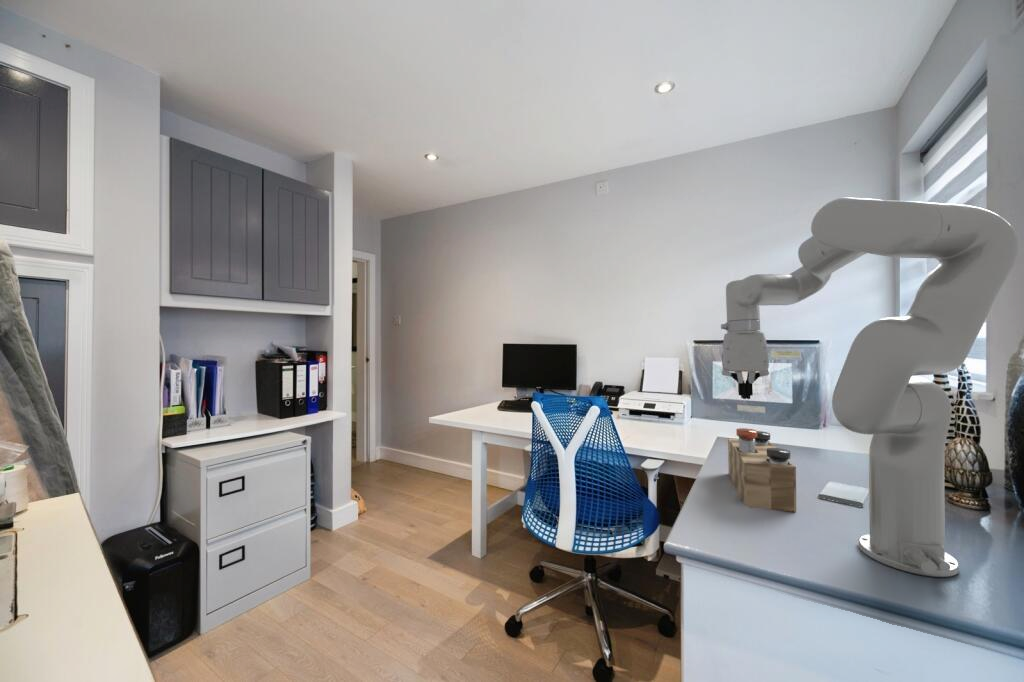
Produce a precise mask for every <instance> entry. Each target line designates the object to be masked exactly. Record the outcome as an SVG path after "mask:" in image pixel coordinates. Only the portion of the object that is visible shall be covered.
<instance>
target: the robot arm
mask: <svg viewBox="0 0 1024 682" xmlns="http://www.w3.org/2000/svg"><path fill="white" fill-rule="evenodd" d="M810 231H811V237H809V238H807V239H806V240H805V241H803V242H801V244H800V246H799V247H798V251H797V255H798V260H799V262H800V264H801V265H802V266H801V267H799V268H798V269H796V270H794V271H793V272H790V273H789V274H779V273H776V274H774V273H769V274H767V273H766V274H765V273H764V274H763V273H761V274H757V273H756V274H752V275H749V276H746V277H744V278H743V279H736V280H733V281H730V282H728V283H727V284H726V285H725V300H726V302H725V303H726V306H725V308H726V309H725V310H726V322H725V323H723V324H722V323H721V324H720V329H721V330H725V331H726V332H727V333H724V335H723V341H722V342H723V343H722V351H721V352H722V355H721V356H722V357H721V358H722V360H721V362H722V363H721V365H722V370H721V374H722V375H723V376H726V377H731V378H732V379H733V380H734V381H736V382H737V384H738V385H737V386H738V389H737V390H738V396H740V398H741V399H743V400H746V399H747V400H751V396H752V397H753V394H754V393H753V391H754V390H753V389H754V388H753V384H754V382H755V381H757V379H759V378H761V377H766V376H769V374H770V373H769V371H770V370H769V368H770V367H769V366H770V364H769V363H770V361H769V353H768V345H767V344H768V343H767V338H766V335H765V332H761V315H760V306H791V305H794V304H797V303H800V302H802V301H804V300H805V299H808V298H810V297H811V296H813V295H815V294H816V293H818V292H819V291H821V290H822V289H824V287H825V286H826V284H828V282H829V280H830V278H831V277H832V274H833V273H834V272H836V271H838V270H840V269H841V268H843V267H845V266H847V265H848V264H850V263H852V262H854V261H856V260H857V259H859V258H861V257H863V256H864V255H866V254H871V255H876V256H882V257H890V258H901V259H904V258H906V259H935V260H936V261H938V262H939V263H938V265H937V266H936V267H935V268H934V270H932V272H930V274H928V276H927V277H926V278H925V279H924V281H923V282H922V283H921V285H920V287H919V288H918V289H917V292H916V294H915V297H914V300H913V302H912V304H911V306H910V308H909V310H908V312H907V313H906V315H905V316H894V317H893V316H891V317H884V318H880V319H877V320H875V321H872V322H871V323H869V324H867V325H866V326H864V327H863V328H862V329H861V330H860V331H859V332H858V334H857V335H856V336H855V337H854V339H853V342H852V343H851V346H850V348H849V351H848V353H847V356H846V358H845V361H844V363H843V365H842V369H841V370H840V373H839V376H838V379H837V381H836V383H835V386H834V390H833V392H832V393H833V394H832V400H831V406H832V407H831V408H832V413H833V414H834V417H835V418H836V421H837V422H838V423H839V424H840V425H841V426H842V427H844V428H845V429H846V430H849V431H850V432H853V433H856V434H860V435H872V437H871V440H870V444H869V449H868V451H869V452H868V489H869V495H868V502H869V503H868V504H869V505H868V507H869V513H868V514H869V521H868V522H869V534H864V535H862V536H860V537H859V538H858V548H859V549H860V550H861V551H862V552H863V553H864V554H865V555H867V556H868V557H869V558H871V559H873V560H874V561H877V562H879V563H880V564H884V565H886V566H889V567H892V568H894V569H897V570H900V571H904V572H907V573H911V574H915V575H921V576H928V577H935V578H939V577H940V578H945V577H948V578H949V577H953V576H955V575H957V574H959V572H960V567H959V565H960V564H959V562H958V560H956V558H954V557H953V556H952V555H951V554H950V553H947V552H946V529H945V528H946V525H945V524H946V521H945V520H946V512H945V511H946V510H945V501H946V500H945V455H946V454H945V453H946V442H947V438H948V432H949V428H950V424H951V419H952V404H951V400H950V397H949V396H948V394H947V392H946V391H945V389H944V388H942V387H941V386H940V385H938V384H937V383H936V382H934V381H932V380H930V379H926V378H924V377H919V376H930V375H933V376H934V375H940V374H946V373H950V372H953V371H955V370H956V369H959V368H960V367H961V366H962V365H963V364H964V362H965V361H966V360H967V357H968V355H969V353H970V352H971V349H972V348H973V345H974V343H975V342H976V340H977V337H978V336H979V334H980V332H981V330H982V327H983V325H984V323H985V321H986V319H987V318H988V315H989V313H990V311H991V308H992V306H993V304H994V302H995V300H996V297H997V296H998V295H999V292H1000V291H1001V289H1002V287H1003V285H1004V283H1005V282H1006V280H1007V279H1008V277H1009V275H1010V273H1011V271H1012V269H1013V267H1014V265H1015V262H1016V260H1017V256H1018V251H1019V239H1018V236H1017V234H1016V230H1015V229H1014V228H1013V226H1012V225H1011V224H1010V223H1009V221H1007V220H1006V219H1005V218H1004V217H1002V216H1001V215H999V214H997V213H995V212H993V211H992V210H990V209H989V210H988V209H985V208H982V207H978V206H973V205H969V204H957V203H943V202H942V203H941V202H940V203H939V202H926V201H910V200H907V201H905V200H885V199H883V200H882V199H877V198H860V197H840V198H837V199H836V198H835V199H833V200H831V201H829V202H828V203H826V204H825V205H823V206H822V207H821V208H819V210H818V211H817V212H816V213H815V214H814V217H813V218H812V221H811V227H810ZM743 372H747V374H746V380H744V377H743Z"/></svg>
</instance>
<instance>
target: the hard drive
mask: <svg viewBox="0 0 1024 682" xmlns="http://www.w3.org/2000/svg"><path fill="white" fill-rule="evenodd" d="M819 497H820V498H819ZM867 497H868V498H869V487H868V488H866V487H863V486H857V485H851V484H845V483H842V482H841V483H840V482H836V481H827V483H826V485H825V486H824V487H823V488H822V490H821V491H820V492H819V493H818V498H819V499H821V498H825V499H824V500H826V499H830V500H834V501H833V502H835V501H838V502H837V503H840V502H843V503H842V504H844V503H848V504H847V505H849V504H852V505H851V506H853V505H857V506H856V507H858V506H861V507H860V508H864V507H865V505H864V504H866V502H867V500H868V498H867ZM830 500H829V501H830ZM863 506H864V507H863Z"/></svg>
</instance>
